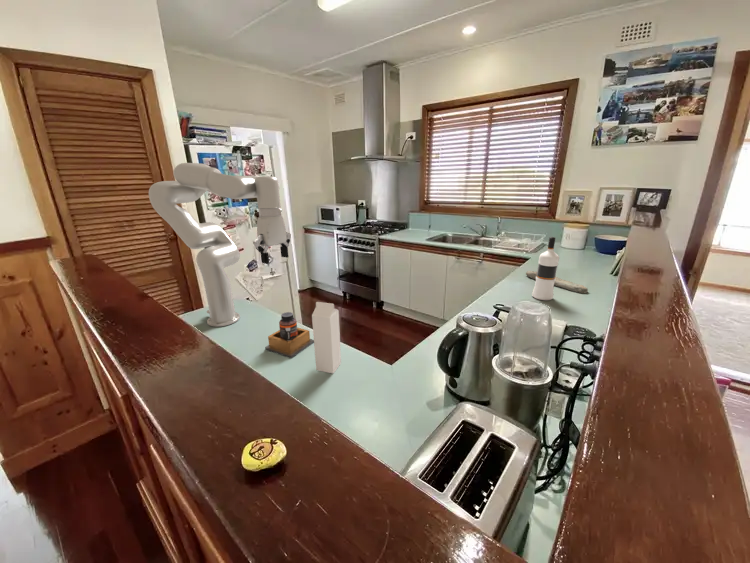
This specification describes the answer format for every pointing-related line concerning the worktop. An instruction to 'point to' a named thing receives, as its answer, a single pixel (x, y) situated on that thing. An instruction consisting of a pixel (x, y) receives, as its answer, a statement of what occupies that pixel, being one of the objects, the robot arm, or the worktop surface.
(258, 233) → the robot arm
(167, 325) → the worktop surface
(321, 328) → the milk
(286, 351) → the square wooden tray
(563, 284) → the elongated rock
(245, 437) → the worktop surface
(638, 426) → the worktop surface
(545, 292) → the vodka
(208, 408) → the worktop surface
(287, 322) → the supplement bottle
